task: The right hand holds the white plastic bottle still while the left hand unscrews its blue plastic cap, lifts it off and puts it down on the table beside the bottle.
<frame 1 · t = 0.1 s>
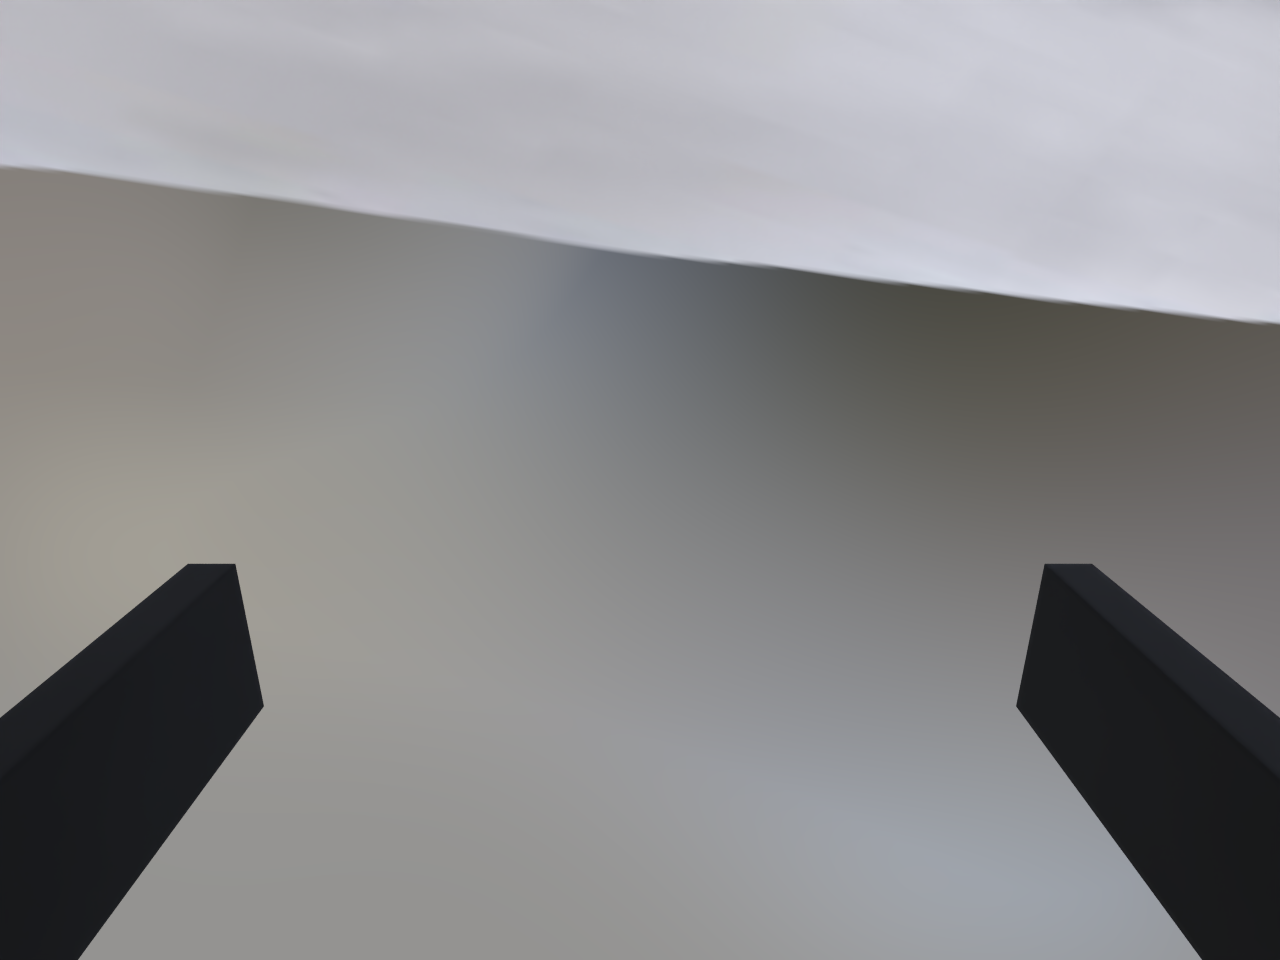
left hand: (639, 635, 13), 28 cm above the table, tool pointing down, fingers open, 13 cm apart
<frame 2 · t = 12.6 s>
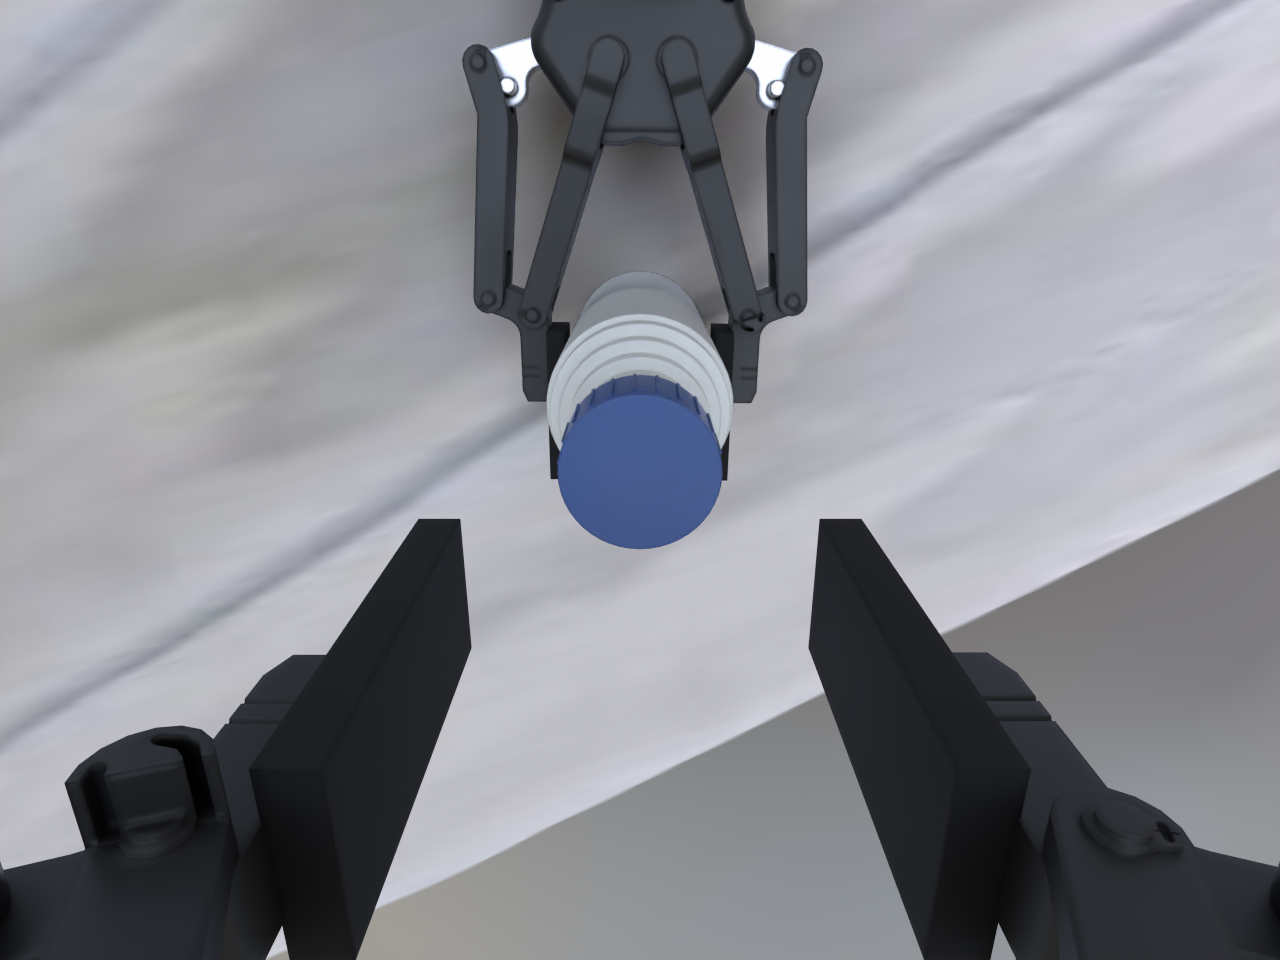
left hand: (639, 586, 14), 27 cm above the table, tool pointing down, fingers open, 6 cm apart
right hand: (639, 468, 36), fingers closed on bottle, 6 cm apart
cap: (639, 470, 20), point 21 cm above the table, screwed on, not yet turned
bottle: (639, 334, 40), on the table, touching right hand
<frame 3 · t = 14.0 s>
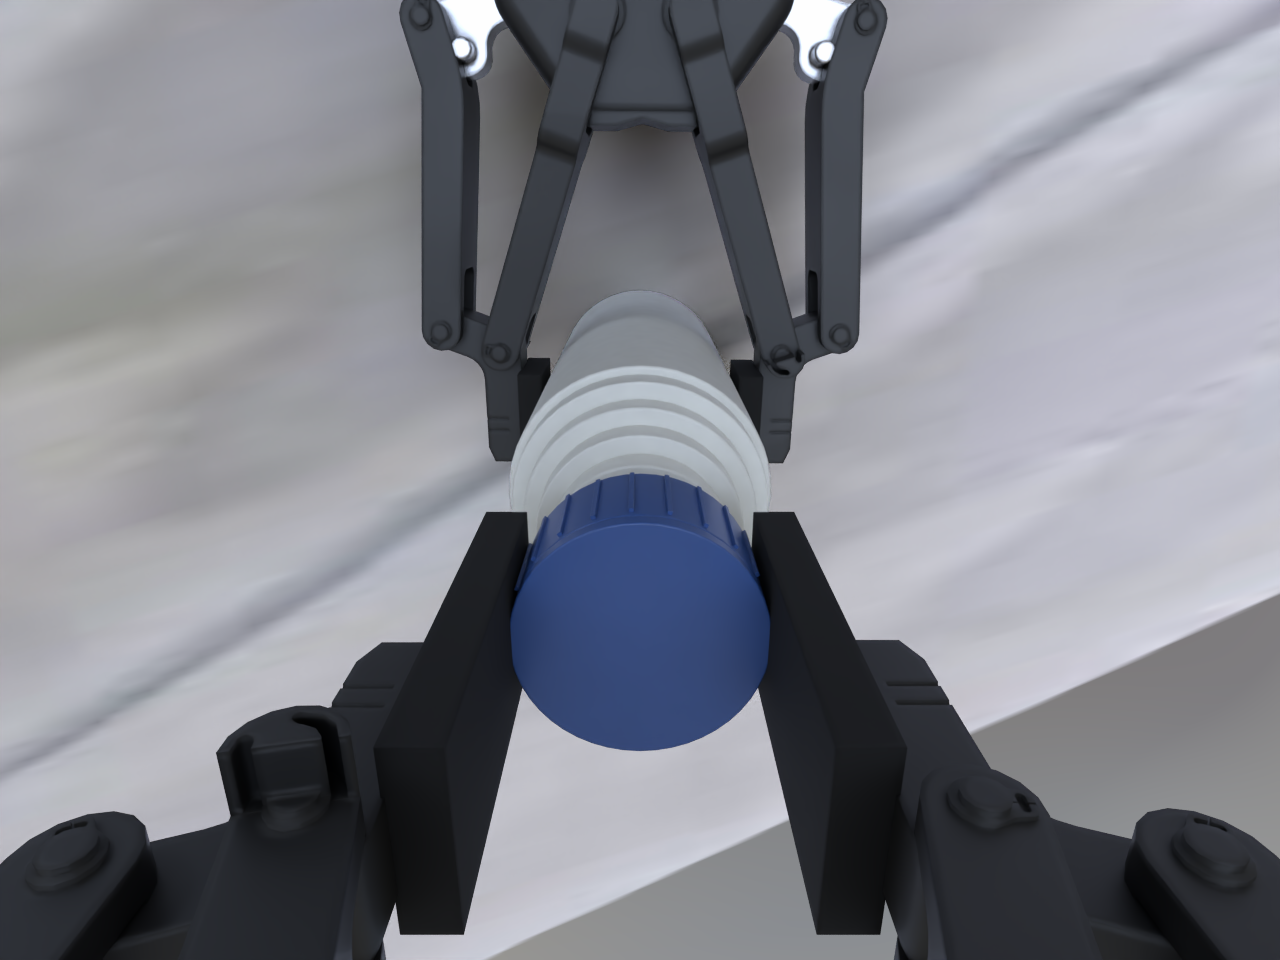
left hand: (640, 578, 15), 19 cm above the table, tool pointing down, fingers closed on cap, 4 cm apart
right hand: (638, 542, 28), fingers closed on bottle, 6 cm apart
cap: (640, 634, 13), point 21 cm above the table, screwed on, not yet turned, touching left hand
bottle: (640, 367, 33), on the table, touching right hand
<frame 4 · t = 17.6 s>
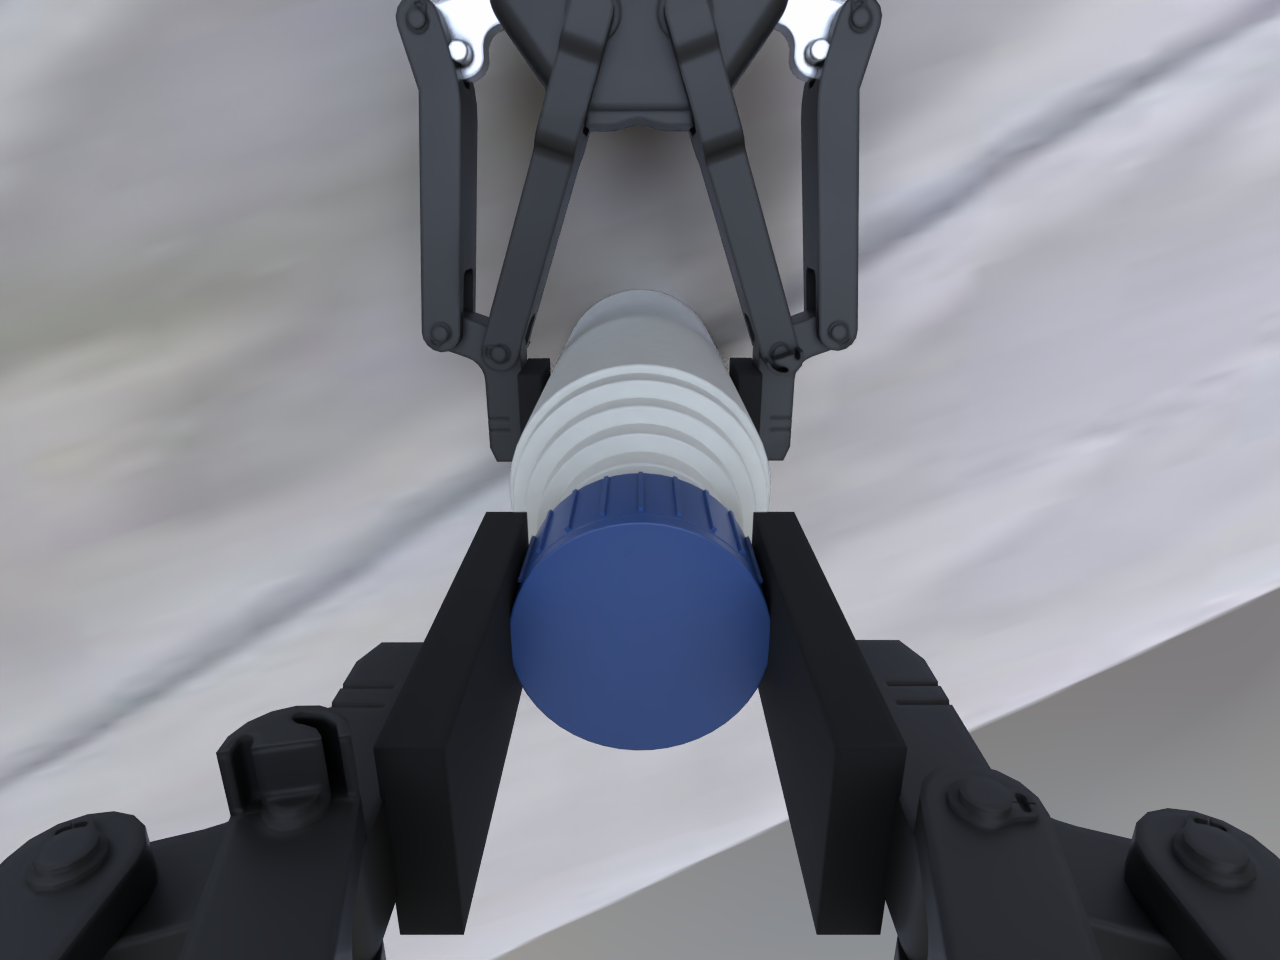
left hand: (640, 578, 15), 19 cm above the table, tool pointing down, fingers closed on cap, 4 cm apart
right hand: (640, 541, 28), fingers closed on bottle, 6 cm apart
cap: (640, 633, 13), point 21 cm above the table, turned 110° so far, risen 0.1 cm, still on its thread, touching left hand
bottle: (640, 366, 33), on the table, touching right hand
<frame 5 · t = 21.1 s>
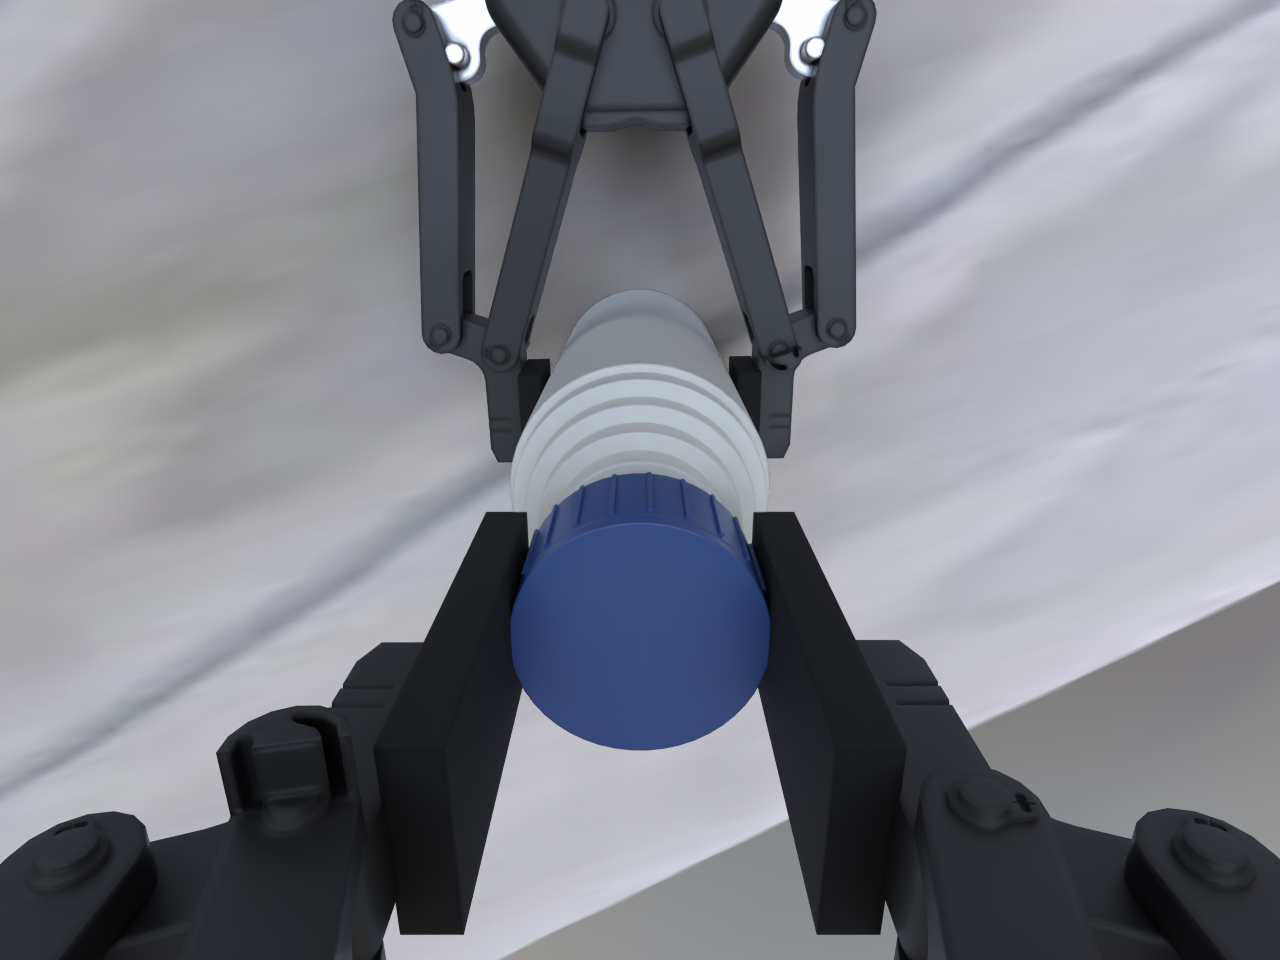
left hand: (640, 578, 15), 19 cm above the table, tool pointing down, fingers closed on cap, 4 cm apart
right hand: (642, 540, 28), fingers closed on bottle, 6 cm apart
cap: (640, 633, 13), point 21 cm above the table, turned 220° so far, risen 0.2 cm, still on its thread, touching left hand
bottle: (639, 366, 33), on the table, touching right hand
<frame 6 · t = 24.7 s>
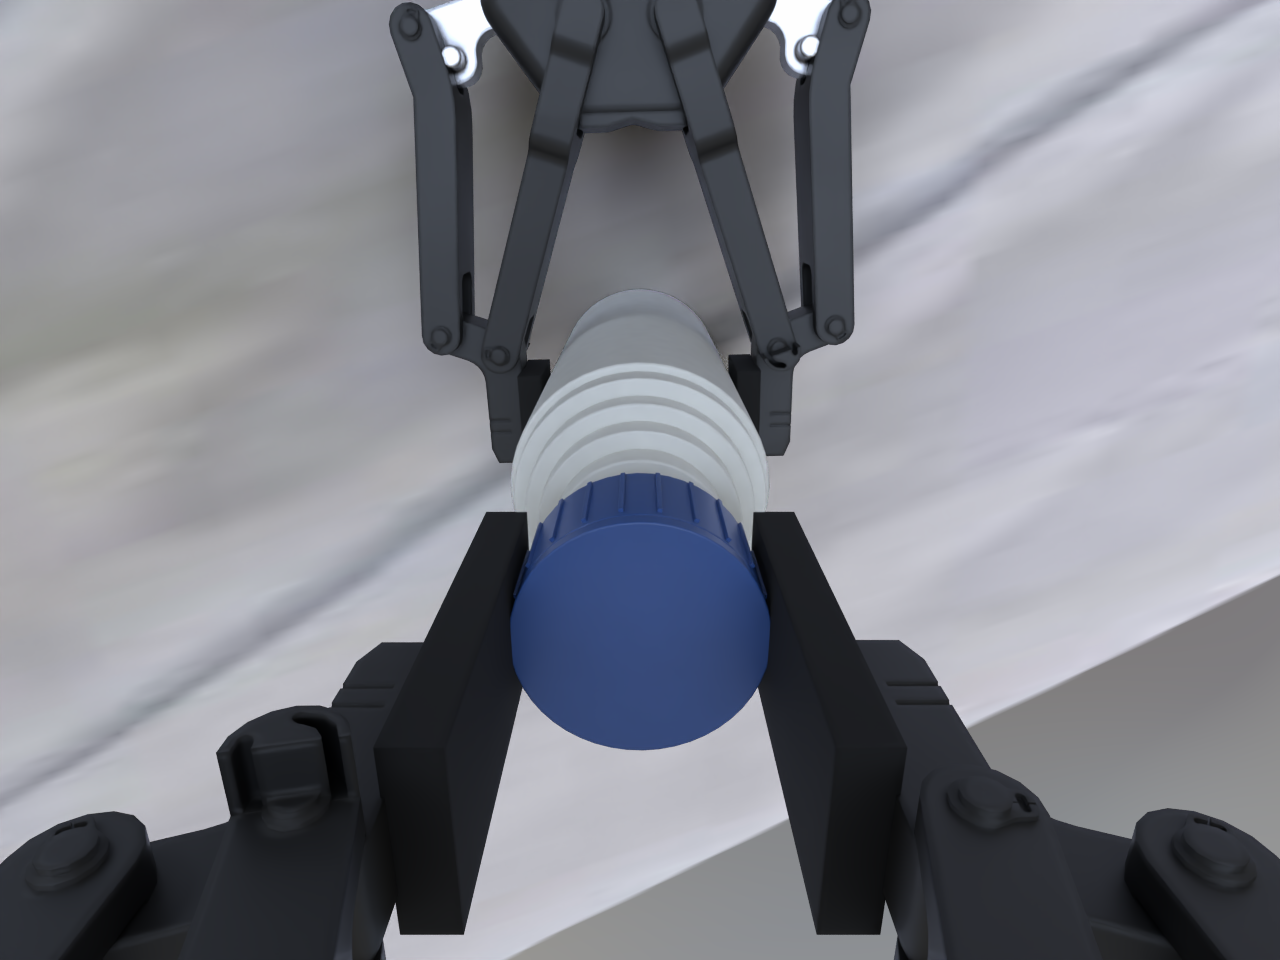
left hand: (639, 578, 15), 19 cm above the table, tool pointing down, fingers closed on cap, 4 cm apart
right hand: (643, 539, 28), fingers closed on bottle, 6 cm apart
cap: (640, 633, 13), point 21 cm above the table, turned 330° so far, risen 0.3 cm, still on its thread, touching left hand
bottle: (639, 365, 33), on the table, touching right hand
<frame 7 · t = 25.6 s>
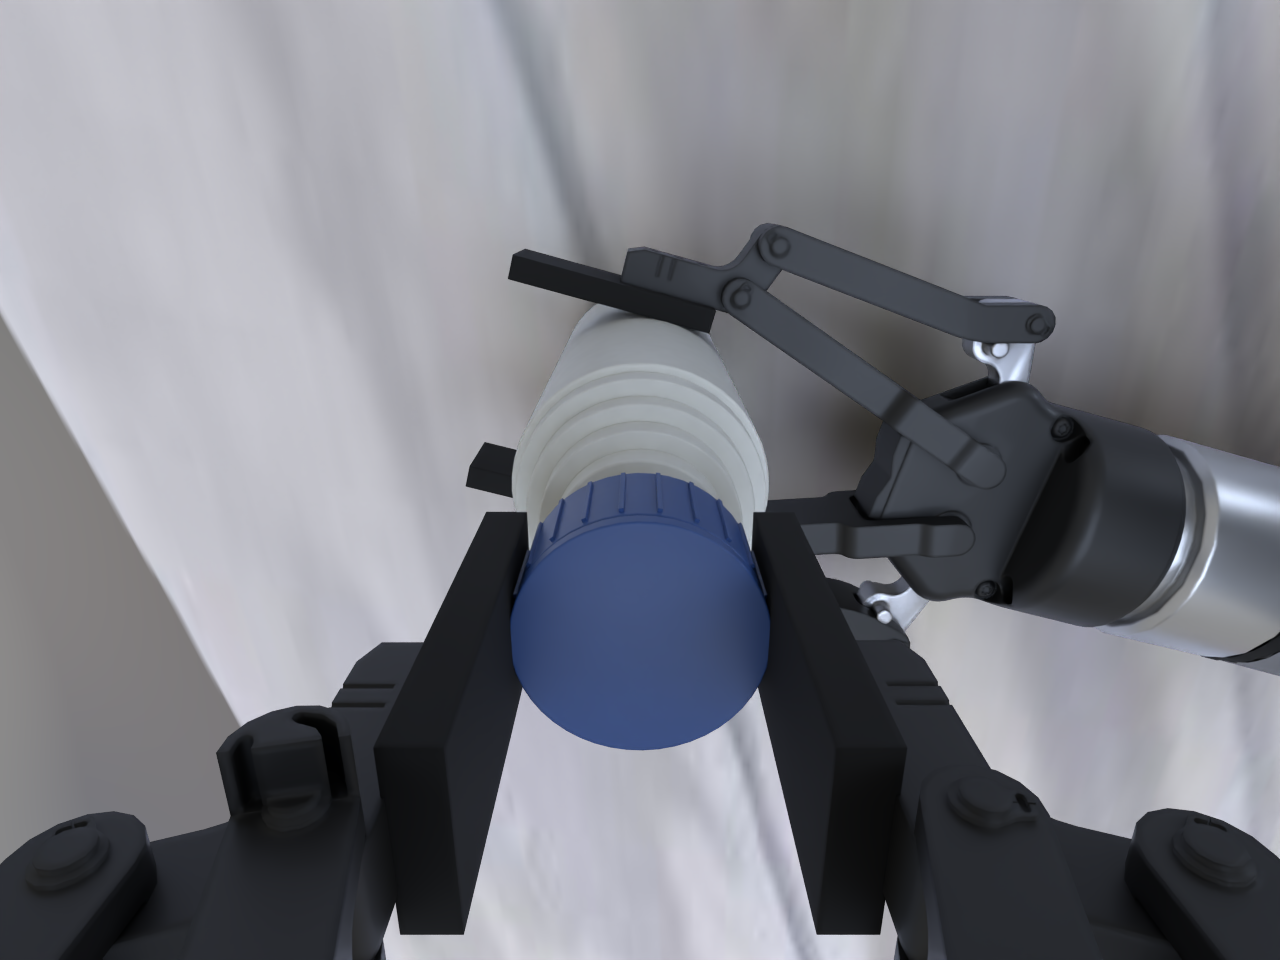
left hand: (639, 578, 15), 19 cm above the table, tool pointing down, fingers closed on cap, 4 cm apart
right hand: (496, 368, 26), fingers closed on bottle, 6 cm apart
cap: (640, 633, 13), point 21 cm above the table, off its thread, touching left hand
bottle: (640, 366, 33), on the table, touching right hand
when the left hand's fingers open (1 cm above the table, at t = 31.5 s): cap stays where it is, point 2 cm above the table.
when the right hand's fingers open (7 cm above the table, at t = 32.7 s): bottle stays where it is, on the table.
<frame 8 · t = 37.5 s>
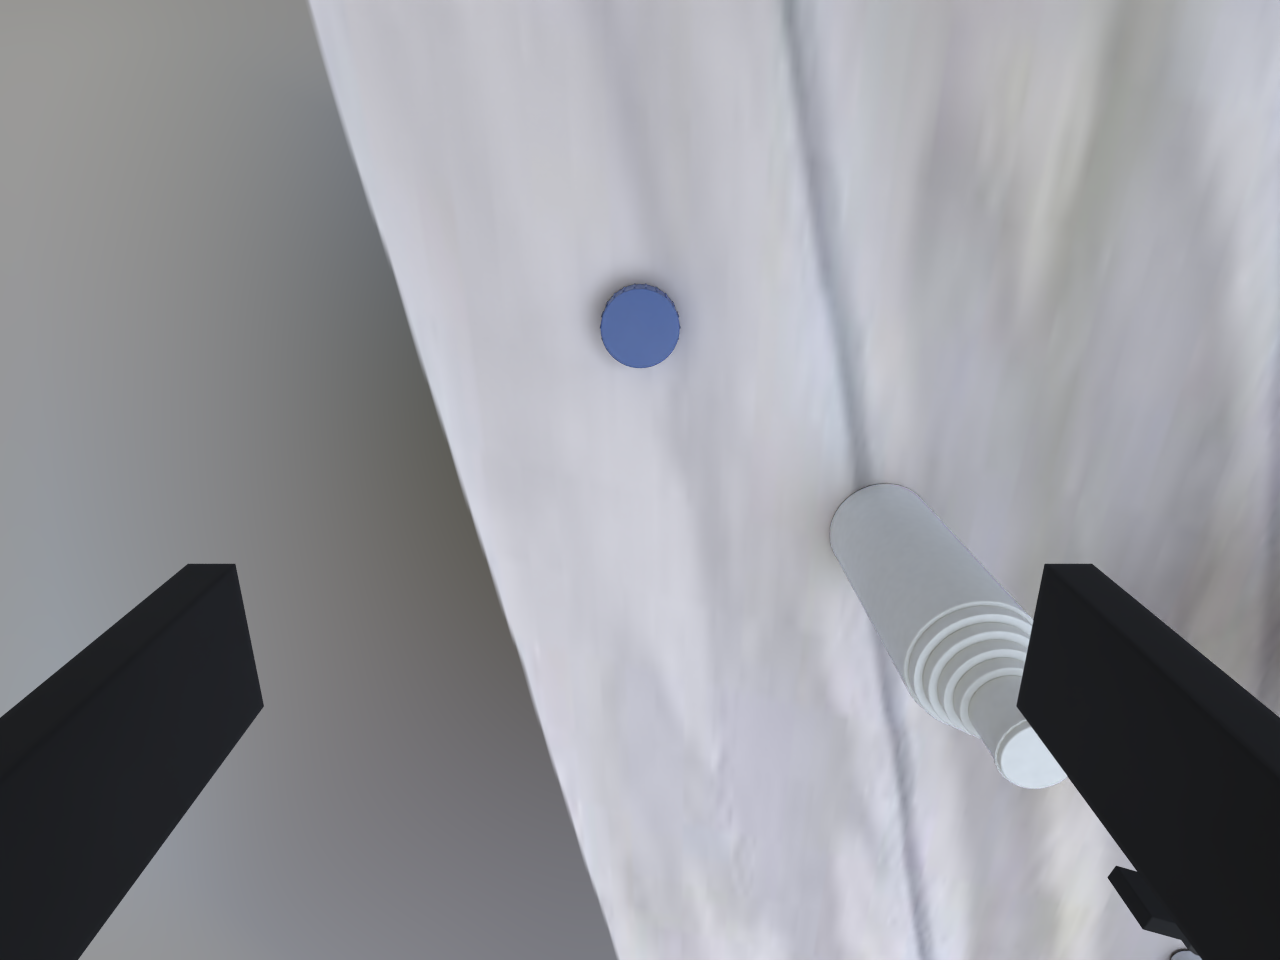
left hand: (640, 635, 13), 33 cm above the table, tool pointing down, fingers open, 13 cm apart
cap: (640, 328, 42), point 2 cm above the table, off its thread
bottle: (880, 530, 49), on the table
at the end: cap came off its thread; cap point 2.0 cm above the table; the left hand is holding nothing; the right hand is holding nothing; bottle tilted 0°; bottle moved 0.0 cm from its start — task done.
